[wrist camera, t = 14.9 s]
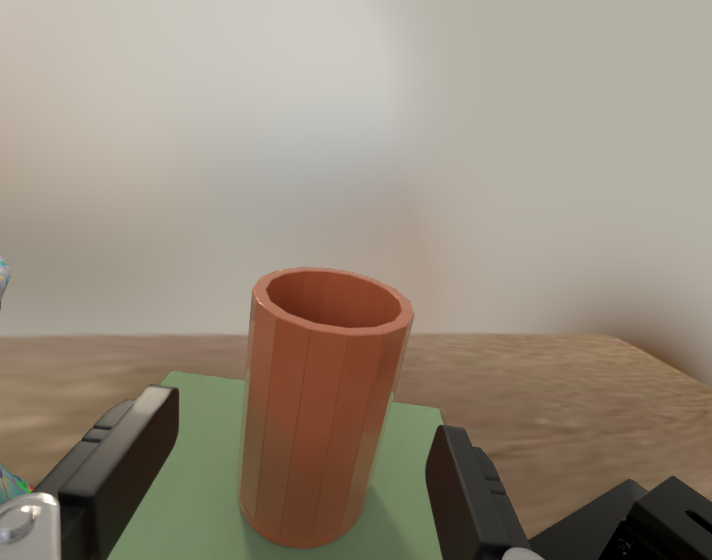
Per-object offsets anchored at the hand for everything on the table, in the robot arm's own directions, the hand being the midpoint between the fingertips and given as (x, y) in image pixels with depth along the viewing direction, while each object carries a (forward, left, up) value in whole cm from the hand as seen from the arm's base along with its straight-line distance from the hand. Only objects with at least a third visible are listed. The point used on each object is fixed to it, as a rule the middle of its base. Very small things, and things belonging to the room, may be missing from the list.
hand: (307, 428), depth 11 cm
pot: (0, +4, -7) cm, 8 cm away
